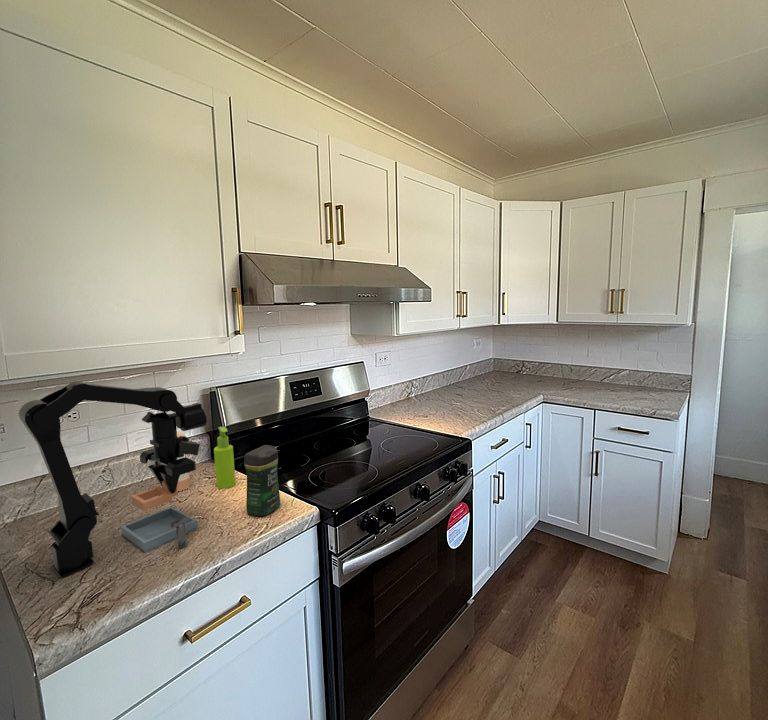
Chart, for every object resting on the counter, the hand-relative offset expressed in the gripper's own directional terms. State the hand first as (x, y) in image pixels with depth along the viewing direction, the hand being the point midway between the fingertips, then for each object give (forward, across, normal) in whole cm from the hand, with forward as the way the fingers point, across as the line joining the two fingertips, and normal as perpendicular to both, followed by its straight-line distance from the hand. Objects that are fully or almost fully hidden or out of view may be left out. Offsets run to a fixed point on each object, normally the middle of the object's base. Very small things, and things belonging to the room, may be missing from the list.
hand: (169, 491), depth 113 cm
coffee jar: (+10, -12, -21) cm, 26 cm away
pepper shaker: (+10, +24, -14) cm, 29 cm away
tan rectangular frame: (+1, 0, +3) cm, 4 cm away
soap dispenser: (+10, +12, -24) cm, 28 cm away
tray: (+10, 0, +3) cm, 11 cm away
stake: (+10, -12, +3) cm, 16 cm away
